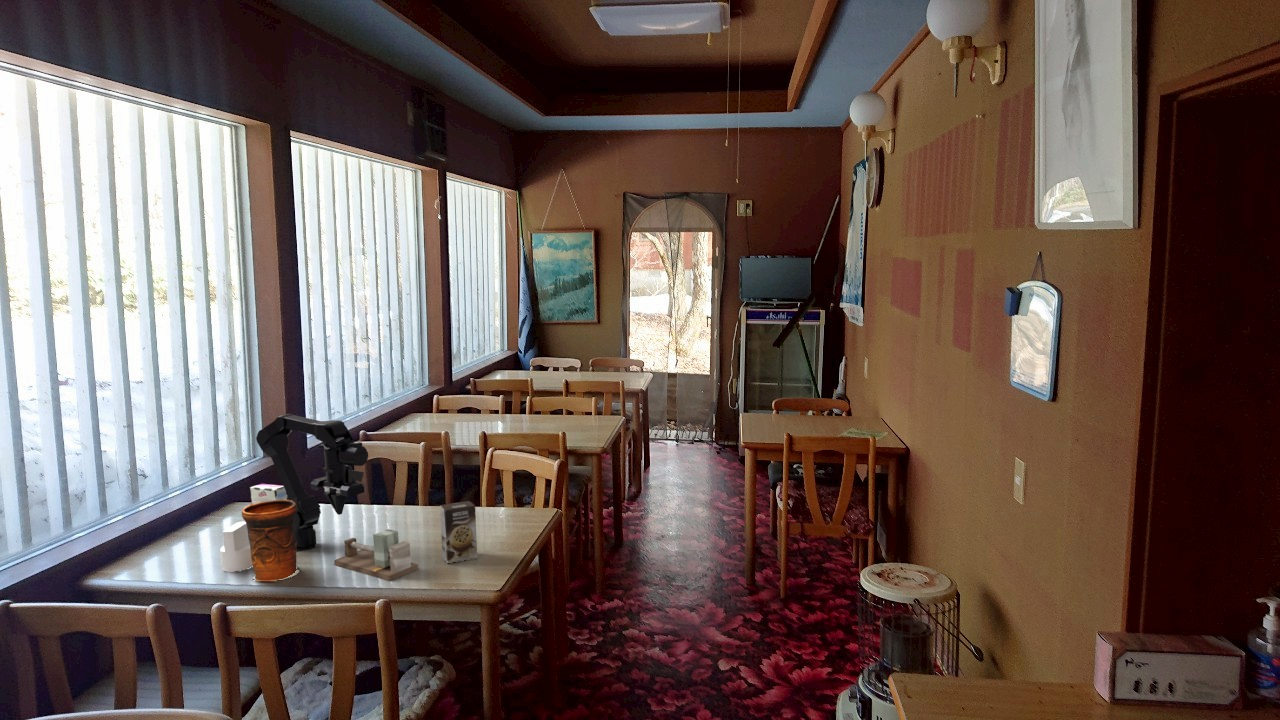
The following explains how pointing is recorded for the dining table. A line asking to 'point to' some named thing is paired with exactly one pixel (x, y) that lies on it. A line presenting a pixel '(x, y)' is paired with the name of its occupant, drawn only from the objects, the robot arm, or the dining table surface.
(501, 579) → the dining table surface
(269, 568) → the vessel
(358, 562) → the rod stand
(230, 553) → the base with upright slab
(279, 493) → the candy bar box
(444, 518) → the coffee box
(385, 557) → the sleeve
